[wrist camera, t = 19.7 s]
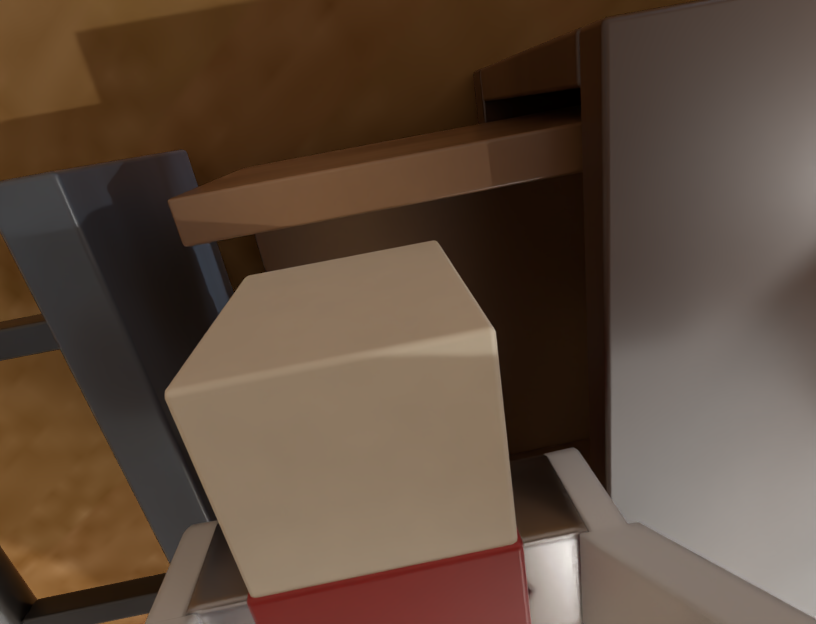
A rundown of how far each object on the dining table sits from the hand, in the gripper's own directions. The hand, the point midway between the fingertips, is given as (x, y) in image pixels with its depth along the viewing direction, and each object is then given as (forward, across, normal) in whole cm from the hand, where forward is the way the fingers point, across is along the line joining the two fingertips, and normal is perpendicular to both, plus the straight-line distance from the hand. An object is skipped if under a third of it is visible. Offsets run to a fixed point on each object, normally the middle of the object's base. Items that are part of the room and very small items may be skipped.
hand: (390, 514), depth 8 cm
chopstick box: (+2, 0, 0) cm, 2 cm away
